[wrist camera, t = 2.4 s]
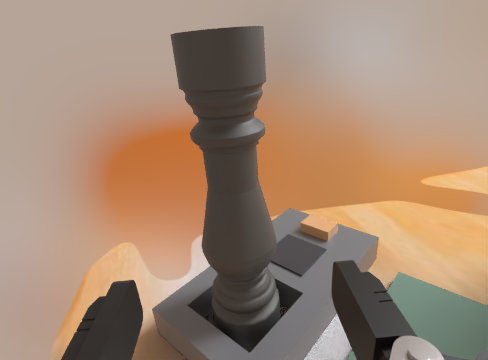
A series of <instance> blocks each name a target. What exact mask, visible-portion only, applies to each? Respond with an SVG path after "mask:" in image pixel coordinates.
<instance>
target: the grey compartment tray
mask: <svg viewBox="0 0 488 360" xmlns="http://www.w3.org/2000/svg"><path fill="white" fill-rule="evenodd" d="M272 224H273V227H274V230H275V234H276V240H277V247H276V251H275V253H274V255H273V258H272V260H271V262H270V263H269V265H268V269H269V270H270V272H271V273H272V274H273V276H274V277H275V283H276V288H277V289H278V293H279V300H280V304H282V305H283V306H285V307H287V308H288V309H289V310H288V311H287V312H286V313H285V314H284V315H283V317H282V318H281V319H280V320H279V321H278V322H277V323H276V324H275V326H274V327H273V328H272V329H271V330H270V331H269V332H268V333H267V334H266V336H265V337H264V338H263V339H262V340H261V341H260V342H259V343H258V345H257V346H256V347H255V348H254V349H253V350H252V351H251V352H250V353H249V352H248V351H246V350H245V349H244V348H242V347H241V346H240V345H238V344H237V343H236V342H234V341H233V340H232V339H231V338H229V337H228V336H227V335H225V334H224V333H223V332H221V331H220V330H219V329H217V328H216V327H215V326H214V325H212V324H211V323H210V322H208V321H207V320H206V319H204V318H205V317H206V316H208V315H209V314H210V313H211V312H212V306H211V303H212V294H213V293H212V287H213V281H214V279H215V278H216V276H217V275H218V274H217V272H216V271H215V270H214V269H213V268H212V267H211V266H210V267H209V268H207V269H206V270H205V271H203V272H202V273H200V274H199V275H198V276H196V277H195V278H194V279H192V280H191V281H190V282H188V283H187V284H185V285H184V286H183V287H181V288H180V289H179V290H177V291H176V292H175V293H173V294H172V295H170V296H169V297H168V298H166V299H165V300H164V301H162V302H161V303H160V304H158V305H157V306H155V307H154V308H153V309H152V311H153V314H154V318H155V322H156V325H157V329H158V332H159V333H160V334H161V335H162V336H163V337H164V338H165V339H166V340H167V341H168V342H169V343H170V344H171V345H172V346H173V347H174V348H176V349H177V350H178V351H179V352H180V353H181V354H182V355H183V356H184V357H185V358H186V359H187V360H303V359H304V358H305V357H306V355H307V354H308V352H309V351H310V350H311V348H312V347H313V345H314V344H315V343H316V341H317V340H318V338H319V337H320V336H321V334H322V333H323V332H324V330H325V329H326V327H327V326H328V325H329V323H330V322H331V320H332V319H333V318H334V316H335V315H336V314H337V312H336V310H335V307H334V304H333V300H332V293H331V289H332V271H333V263H334V262H335V261H346V260H353V261H354V262H355V263H356V265H357V266H358V268H359V270H360V271H361V272H367V271H368V269H369V268H370V266H371V265H372V264H373V262H374V261H375V260H376V255H377V247H378V239H379V237H376V236H373V235H370V234H367V233H364V232H361V231H358V230H355V229H352V228H349V227H346V226H343V225H340V224H338V223H337V222H334V221H331V220H328V219H325V218H322V217H319V216H316V215H313V214H310V215H309V214H306V213H303V212H300V211H297V210H294V209H291V208H289V209H288V210H286V211H285V212H284V213H282V214H281V215H280V216H278V217H277V218H275V219H274V220H273V221H272Z"/></svg>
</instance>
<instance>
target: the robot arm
mask: <svg viewBox="0 0 488 360" xmlns="http://www.w3.org/2000/svg"><path fill="white" fill-rule="evenodd" d="M331 293H332V300H333V304H334V307H335V310H336V312H337V314H338V317H339V319H340V321H341V324H342V326H343V328H344V331H345V333H346V336H347V338H348V340H349V343H350V345H351V347H352V350H353V352H354V354H355V357H356V359H357V360H468V359H463V358H457V357H452V356H448V355H444V354H441V353H440V352H439V350H438V349H437V348H436V347H435V346H433V345H432V344H431V343H429V342H428V341H426V340H424V339H422V338H419V337H418V336H417V335H416V334H415V332H414V331H413V329H412V328H411V326H410V325H409V323H408V322H407V320H406V319H405V317H404V316H403V314H402V313H401V311H400V310H399V308H398V307H397V305H396V304H395V302H393V299H392V298H391V296H390V295H389V293H387V290H386V289H385V287H384V286H383V284H382V283H381V281H380V280H379V279H377V278H376V277H375V276H373V275H372V274H371V273H370V272H361V271H360V270H359V268H358V266H357V265H356V263H355V262H354V261H353V260H346V261H335V262H334V263H333V271H332V289H331ZM142 321H143V310H142V305H141V302H140V298H139V294H138V291H137V287H136V283H135V281H134V280H128V281H117V282H113V283H112V285H111V287H110V289H109V291H108V293H107V295H106V296H103V297H99V298H98V299H97V300H96V301H95V302H94V303H93V304H92V305H91V306H90V307H89V308H88V310H87V311H86V313H85V315H84V317H83V319H82V322H81V323H80V325H79V327H78V328H77V332H75V334H74V336H73V338H72V340H71V342H70V343H69V345H68V347H67V349H66V351H65V353H64V355H63V357H62V359H61V360H131V359H132V356H133V353H134V349H135V346H136V343H137V339H138V336H139V333H140V329H141V326H142ZM476 360H488V350H487V351H482V352H480V353H479V354H478V355H477V357H476Z"/></svg>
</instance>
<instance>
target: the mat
mask: <svg viewBox="0 0 488 360" xmlns="http://www.w3.org/2000/svg"><path fill="white" fill-rule="evenodd" d="M387 293H389V295H390V296H391V298H392V299H393V302H395V304H396V305H397V307H398V308H399V310H400V311H401V313H402V314H403V316H404V317H405V319H406V320H407V322H408V323H409V325H410V326H411V328H412V329H413V331H414V332H415V334H416V335H417V336H418V337H419V338H422V339H424V340H426V341H428V342H429V343H431V344H432V345H433V346H435V347H436V348H437V349H438V350H439V352H440V353H441V354H444V355H448V356H452V357H457V358H463V359H468V360H476V357H477V355H478V354H479V353H480V352H482V351H487V350H488V306H486V305H484V304H481V303H478V302H476V301H473V300H471V299H468V298H465V297H463V296H460V295H458V294H455V293H452V292H450V291H447V290H445V289H442V288H439V287H437V286H434V285H432V284H429V283H426V282H424V281H421V280H419V279H416V278H413V277H411V276H408V275H406V274H403V273H400V272H399V273H398V274H397V276H396V278H395V279H394V281H393V283H392V284H391V286H390V288H389V289H388V291H387ZM347 360H357V359H356V357H355V354H354V352H353V350H352V351H351V353H350V355H349V356H348V358H347Z"/></svg>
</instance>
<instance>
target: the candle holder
mask: <svg viewBox="0 0 488 360" xmlns="http://www.w3.org/2000/svg"><path fill="white" fill-rule="evenodd" d="M171 40H172V46H173V53H174V59H175V65H176V71H177V77H178V83H179V89H181V90H183V91H184V93H185V100H186V102H187V103H188V104H189V105H190V106H191V107H192V109H193V112H194V114H195V115H196V116H198V119H199V122H198V123H197V124H196V125H195V126H194V127H193V129H192V130H191V132H190V136H191V139H192V141H193V142H194V143H195V144H197V145H198V146H199V147H200V149H201V150H202V151H203V156H204V163H205V170H206V177H207V184H208V192H207V201H206V211H205V221H204V230H203V239H202V249H203V253H204V255H205V257H206V259H207V261H208V263H209V265H210V266H211V267H212V268H213V269H214V270H215V271H216V272H217V274H218V275H217V276H216V278H215V279H214V281H213V287H212V293H213V294H212V303H211V306H212V312H213V318H214V324H215V327H216V328H217V329H219V330H220V331H221V332H223V333H224V334H225V335H227V336H228V337H229V338H231V339H232V340H233V341H234V342H236V343H237V344H238V345H240V346H241V347H242V348H244V349H245V350H246V351H248V352H249V353H250V352H251V351H252V350H253V349H254V348H255V347H256V346H257V345H258V343H259V342H260V341H261V340H262V339H263V338H264V337H265V336H266V334H267V333H268V332H269V331H270V330H271V329H272V328H273V327H274V326H275V324H276V323H277V322H278V321H279V320H280V300H279V293H278V289H277V288H276V283H275V277H274V276H273V274H272V273H271V272H270V270H269V269H268V265H269V263H270V262H271V260H272V258H273V255H274V253H275V251H276V247H277V240H276V234H275V230H274V227H273V224H272V221H271V218H270V215H269V212H268V209H267V206H266V202H265V199H264V196H263V193H262V190H261V187H260V184H259V181H258V167H257V152H256V145H257V144H258V140H259V139H260V138H261V137H262V136H264V134H265V126H264V123H263V122H262V121H260V120H259V119H257V118H256V117H255V116H254V111H255V110H256V109H257V104H258V101H259V99H260V98H261V96H262V89H261V87H262V84H263V83H264V82H265V81H266V72H265V52H264V31H263V26H252V27H251V26H249V27H231V28H219V29H207V30H198V31H189V32H181V33H175V34H171Z"/></svg>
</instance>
